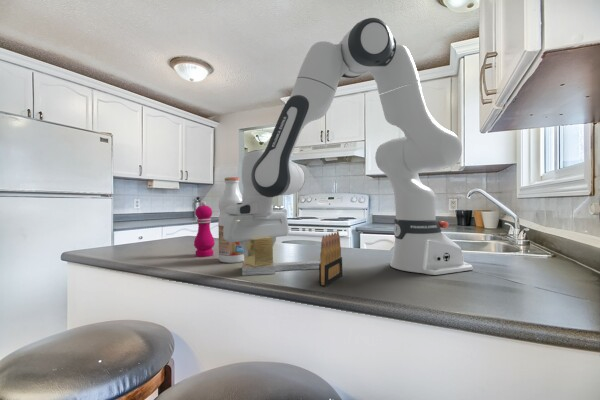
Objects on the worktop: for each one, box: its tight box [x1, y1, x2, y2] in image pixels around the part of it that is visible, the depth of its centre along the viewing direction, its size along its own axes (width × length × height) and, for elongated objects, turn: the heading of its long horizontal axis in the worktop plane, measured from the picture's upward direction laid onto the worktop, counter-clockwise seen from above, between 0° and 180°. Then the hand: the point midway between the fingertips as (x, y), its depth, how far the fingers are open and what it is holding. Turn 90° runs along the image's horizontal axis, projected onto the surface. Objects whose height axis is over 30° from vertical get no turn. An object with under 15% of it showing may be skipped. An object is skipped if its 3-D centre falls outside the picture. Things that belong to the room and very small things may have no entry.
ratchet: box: [241, 260, 320, 276], centre depth 88 cm, size 27×9×6 cm, turn 100°
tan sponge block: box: [244, 237, 274, 267], centre depth 86 cm, size 6×6×8 cm
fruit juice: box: [217, 176, 244, 264], centre depth 100 cm, size 9×9×28 cm
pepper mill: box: [193, 200, 215, 258], centre depth 109 cm, size 7×7×20 cm
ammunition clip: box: [318, 231, 343, 287], centre depth 75 cm, size 11×2×12 cm, turn 150°
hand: (258, 254), depth 86 cm, fingers closed on tan sponge block, 6 cm apart
